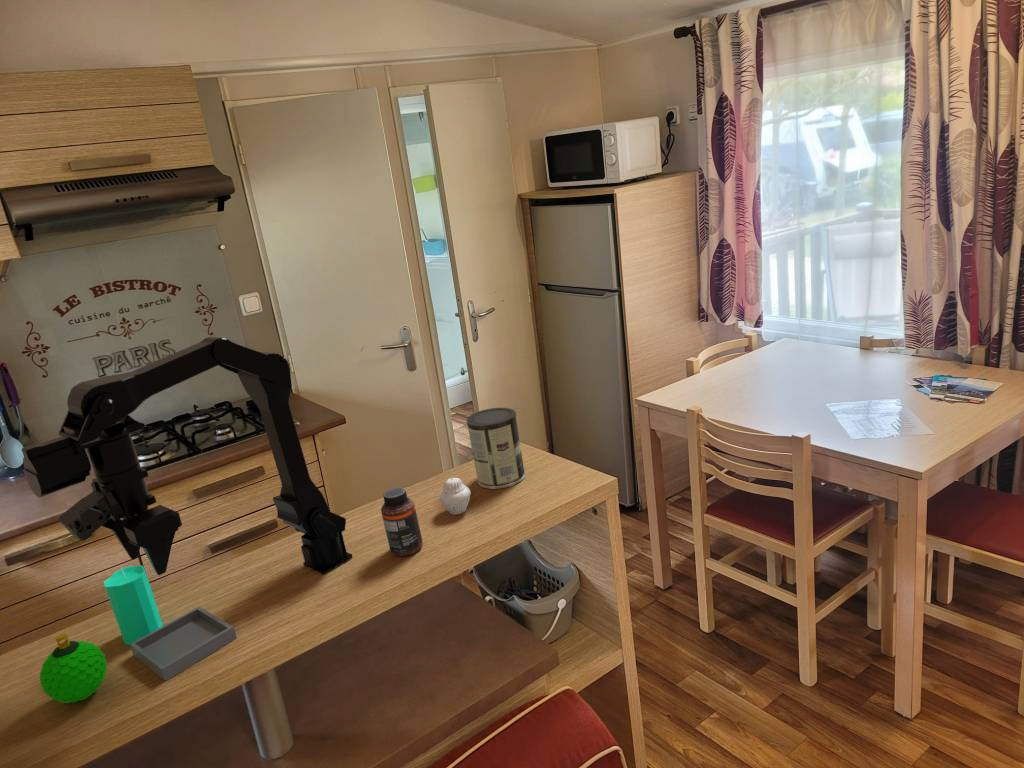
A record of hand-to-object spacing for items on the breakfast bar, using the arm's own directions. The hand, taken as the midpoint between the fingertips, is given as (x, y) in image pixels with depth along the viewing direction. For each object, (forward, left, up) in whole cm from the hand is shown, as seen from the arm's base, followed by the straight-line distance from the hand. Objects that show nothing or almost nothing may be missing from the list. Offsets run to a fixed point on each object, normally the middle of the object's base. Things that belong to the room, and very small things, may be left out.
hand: (148, 565), depth 109 cm
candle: (+1, -10, -15) cm, 18 cm away
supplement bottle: (-38, +10, -15) cm, 42 cm away
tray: (-1, +1, -15) cm, 15 cm away
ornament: (+13, -2, -15) cm, 20 cm away
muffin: (-53, +8, -15) cm, 56 cm away
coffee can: (-68, +6, -15) cm, 70 cm away
